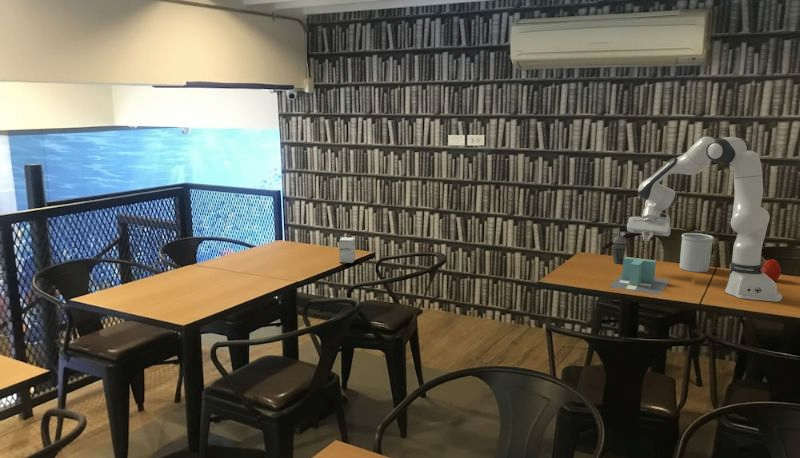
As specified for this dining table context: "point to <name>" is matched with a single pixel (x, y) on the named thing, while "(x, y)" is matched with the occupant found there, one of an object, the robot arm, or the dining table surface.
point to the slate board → (641, 285)
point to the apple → (772, 269)
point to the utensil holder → (695, 252)
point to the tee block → (638, 270)
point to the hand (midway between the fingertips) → (645, 240)
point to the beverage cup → (619, 248)
